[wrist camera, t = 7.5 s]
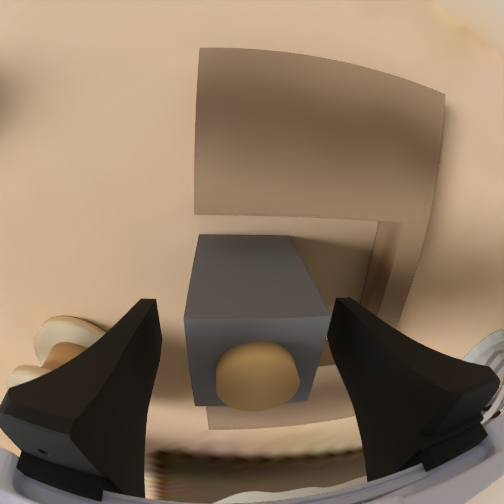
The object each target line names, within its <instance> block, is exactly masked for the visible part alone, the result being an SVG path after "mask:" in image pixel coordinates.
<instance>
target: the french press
mask: <svg viewBox="0 0 504 504" xmlns="http://www.w3.org/2000/svg"><path fill="white" fill-rule="evenodd" d="M462 360H463V361H466V362H470V363H475V364H480V365H485V366H489V367H491V368H492V370H493V371H494V372H495V373H496V375H497V376H498V377H499V379H501V378H502V376H503V375H504V330H502V329H500V330H498V331H496V332H494V333H492V334H490V335H489V336H487V337H486V338H485V339H484V340H482V341H481V342H480V343H478V344H477V345H476V346H475V347H474V348H473V349H472V350H471V351H470V352H469V353H468V354H467V355H466V356H465V357H464V358H463V359H462ZM503 397H504V380H503V383H502V386H501V388H500V390H499V391H498V392H497V394H496V395H495V397H493V398H492V399H491V400H490V401H489V403H488V404H487V405H486V406H485V407H488V406H489V405H491V404H493V403H494V404H493V405H492V407H491V408H490V410H488V411H485V412H483V410H482V411H481V414H482V415H483V417H484V419H483V421H482V422H481V424H482V426H483V427H484V426H485V425H486V424H488V423H489V422H490V421H492V420H494V419H495V418H493V419H489V418H490V417H492V415H493V414H494V413H496V412H497V411H499V410H500V409H502V408H503V407H504V399H503ZM502 399H503V400H502ZM501 401H502V402H501ZM501 414H504V409H503V411H502V412H501ZM501 414H500V415H501ZM500 415H499V416H500ZM496 418H497V417H496ZM488 419H489V420H488Z"/></svg>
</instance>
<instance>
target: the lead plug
mask: <svg viewBox="0 0 504 504" xmlns="http://www.w3.org/2000/svg"><path fill="white" fill-rule="evenodd" d="M330 320H331V314H330V312H329V310H328V308H327V306H326V304H325V302H324V300H323V298H322V296H321V294H320V293H319V291H318V289H317V287H316V285H315V283H314V281H313V279H312V278H311V276H310V274H309V272H308V270H307V268H306V266H305V265H304V263H303V261H302V259H301V257H300V255H299V254H298V252H297V250H296V248H295V246H294V244H293V243H292V241H291V239H290V237H289V236H282V235H210V234H199V237H198V242H197V247H196V252H195V258H194V263H193V268H192V273H191V279H190V284H189V290H188V296H187V302H186V308H185V314H184V326H185V335H186V344H187V353H188V361H189V368H190V376H191V383H192V390H193V396H194V403H195V406H229V407H232V408H234V409H237V410H242V411H264V410H268V409H272V408H275V407H278V406H280V405H282V404H286V403H297V402H306V401H307V400H308V397H309V394H310V391H311V388H312V385H313V381H314V378H315V375H316V371H317V368H318V365H319V361H320V358H321V354H322V350H323V347H324V343H325V339H326V336H327V332H328V328H329V324H330Z"/></svg>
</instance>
